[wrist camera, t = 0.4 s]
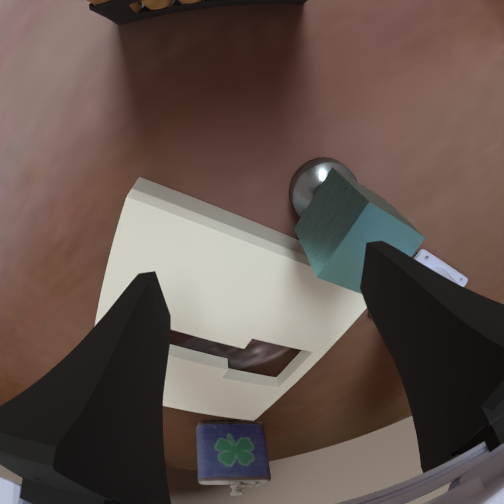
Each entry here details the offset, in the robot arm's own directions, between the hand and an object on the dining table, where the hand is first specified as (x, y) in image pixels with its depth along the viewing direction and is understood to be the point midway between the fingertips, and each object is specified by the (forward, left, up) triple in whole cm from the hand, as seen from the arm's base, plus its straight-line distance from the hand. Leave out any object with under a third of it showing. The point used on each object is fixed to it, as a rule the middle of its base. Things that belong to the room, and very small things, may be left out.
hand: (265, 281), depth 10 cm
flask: (-13, +30, -10) cm, 35 cm away
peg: (-5, -2, -10) cm, 11 cm away
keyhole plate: (-3, +12, -10) cm, 16 cm away
